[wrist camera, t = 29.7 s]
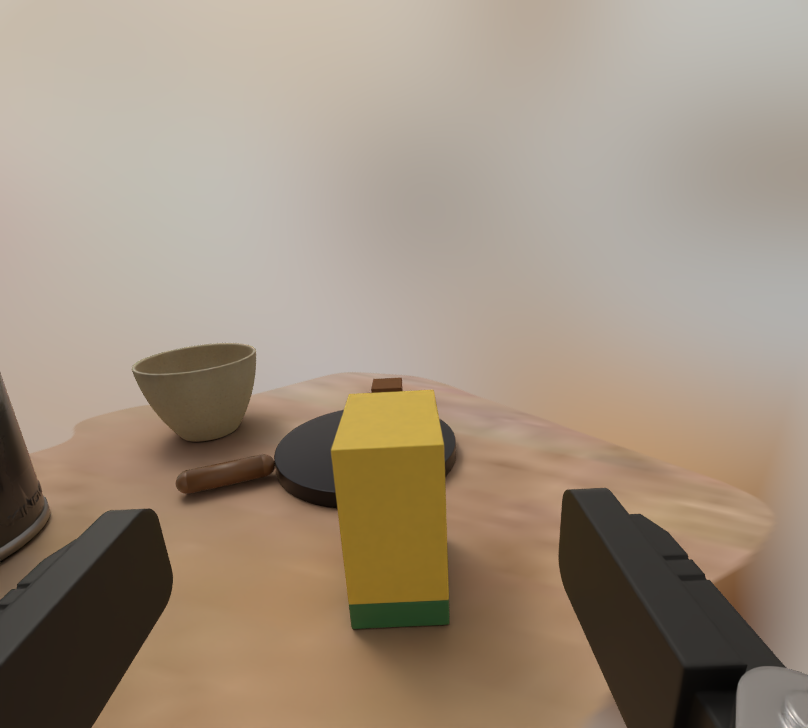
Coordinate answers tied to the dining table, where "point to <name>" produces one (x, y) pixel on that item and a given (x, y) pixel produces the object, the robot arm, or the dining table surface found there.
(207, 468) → the pan
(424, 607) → the sponge
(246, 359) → the beige bowl
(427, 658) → the dining table surface
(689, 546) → the dining table surface
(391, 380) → the brown small block
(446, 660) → the dining table surface
